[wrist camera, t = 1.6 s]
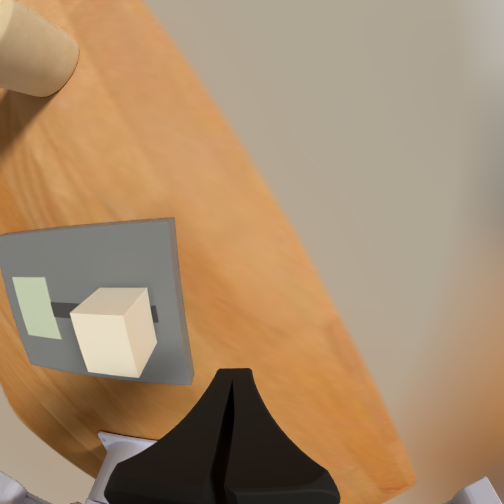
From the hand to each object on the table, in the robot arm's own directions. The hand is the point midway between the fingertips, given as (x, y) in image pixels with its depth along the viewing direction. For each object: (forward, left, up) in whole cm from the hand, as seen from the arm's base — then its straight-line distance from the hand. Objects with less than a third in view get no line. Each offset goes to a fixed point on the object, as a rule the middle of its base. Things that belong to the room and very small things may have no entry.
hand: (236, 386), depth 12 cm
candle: (+19, +14, -9) cm, 25 cm away
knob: (0, +8, -7) cm, 10 cm away
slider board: (0, +12, -9) cm, 15 cm away
